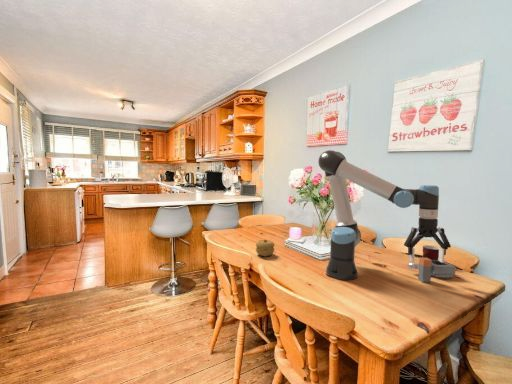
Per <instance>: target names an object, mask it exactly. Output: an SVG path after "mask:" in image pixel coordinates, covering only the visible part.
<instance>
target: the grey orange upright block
mask: <svg viewBox="0 0 512 384" xmlns="http://www.w3.org/2000/svg"><path fill="white" fill-rule="evenodd" d="M418 264H419V269H418V276H417V279H418V280H419V281H420V282H421V283H423V282H425V283H426V282H427V283H429V284H430V283H431V279H432V278H431V264H432V260H430V259H429V258H422V257H419V260H418ZM425 283H424V284H425Z"/></svg>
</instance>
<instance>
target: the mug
mask: <svg viewBox="0 0 512 384" xmlns="http://www.w3.org/2000/svg"><path fill="white" fill-rule="evenodd" d="M439 248H440V247H438V246H434V245H427V244H426V245H425V244H424V245H422V257H421V258H429V259H430V260H439Z"/></svg>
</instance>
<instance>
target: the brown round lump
mask: <svg viewBox="0 0 512 384" xmlns="http://www.w3.org/2000/svg"><path fill="white" fill-rule="evenodd" d="M255 246H256V247H255V251H256V253H257V255H259V256H261V257H270V256H271V255H273V254H274V252H275V248H274V247H275V243H274V242H273V241H272V240H270V239H266V238H265V239H264V238H263V239H260V240H258V241H257V242H256V243H255Z"/></svg>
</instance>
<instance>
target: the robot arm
mask: <svg viewBox="0 0 512 384" xmlns="http://www.w3.org/2000/svg"><path fill="white" fill-rule="evenodd" d="M317 164H318V167H320V170H322V171H323V172H324V175H325V178H326V179H327V180H329V185H330V186H329V187H330V191H331V195H332V196H331V197H332V201H333V202H332V203H333V206H334V212H335V217H336V223H335V224H334V228H333V229H331V233H330V255H329V256H330V257H329V260H328V263H327V266H326V269H325V270H326V274H327V276H329V277H331V278H333V279H337V280H341V281H352V280H355V279H357V278H358V268H357V266H356V263H355V251H356V249H355V248H356V247H357V246H358V245H359V243H360V242H361V239H362V234H361V230H360V229H359V226H358V222H357V221H356V220H354V216H353V211H352V206H351V202H350V201H351V200H350V196H349V191H348V190H349V189H348V187H347V186H348V185H347V180H348V181H349V182H352V183H353V184H356V185H358V186H359V187H361V188H363V189H366V190H367V191H370V192H371V193H373V194H375V195H376V196H379V197H382V198H383V199H385V200H387V201H389V202H391V203H392V204H394V205H396V207H399V208H402V209H406V208H409V207H411V206H412V205H415V206H417V205H418V208H419V209H418V216H419V217H418V227H411V229H410V230H411V231H410V232H409V234H408V236H407V238H406V240H405V242H404V244H403V246H404V247H407V254H408V255H409V261H410V262H411V263H415V248H414V247H415V246H416V245H417V244H419V242H420V241H421V240H422V239H423V238H433V239H434V241H435V242H436V243H437V244H438V246H440V247H438V248H439V258H438V261H440V262H442V263H444V261H445V256H446V254H447V250H448V249H449V248H451V243H450V242H449V239H448V237H447V236H446V234H445V228H443V227H440V226H439V227H438V225H439V221H438V217H439V203H440V202H439V200H440V195H439V194H440V190H439V189H440V188H439V186H438V185H431V184H430V185H429V184H428V185H427V184H426V185H422V184H421V185H420V186H419V188H417V189H412V188H407V189H406V188H402V187H400V186H397V184H394V183H392V182H389V181H388V180H385V179H383V178H381V177H379V176H376V175H375V174H372V173H371V172H369V171H367V170H364V169H362V168H360V167H358V166H356V165H354V164H352V163H350V162H348V160H347V158H346V156H345V155H344V154H343V153H341V152H339V151H335V150H325V151H324V152H322V153H320V155H319V157H318V163H317ZM437 233H438V234H439V235H438V234H437ZM439 236H440V237H439Z"/></svg>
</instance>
